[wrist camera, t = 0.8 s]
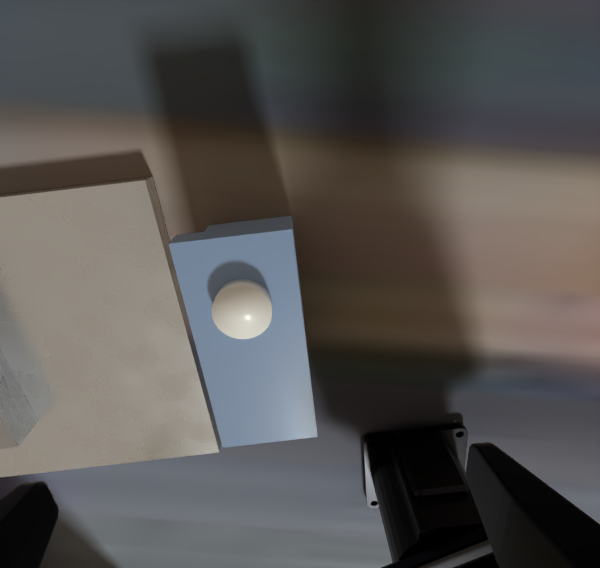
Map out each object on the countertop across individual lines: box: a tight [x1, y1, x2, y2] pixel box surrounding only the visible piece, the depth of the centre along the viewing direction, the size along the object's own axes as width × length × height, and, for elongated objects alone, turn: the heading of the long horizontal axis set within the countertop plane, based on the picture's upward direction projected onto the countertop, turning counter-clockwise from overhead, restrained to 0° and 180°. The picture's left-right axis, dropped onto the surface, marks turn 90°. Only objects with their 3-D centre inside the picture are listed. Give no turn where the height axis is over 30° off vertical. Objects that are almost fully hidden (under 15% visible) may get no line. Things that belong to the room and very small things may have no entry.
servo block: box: [169, 216, 317, 448], centre depth 16 cm, size 9×4×7 cm, turn 6°
